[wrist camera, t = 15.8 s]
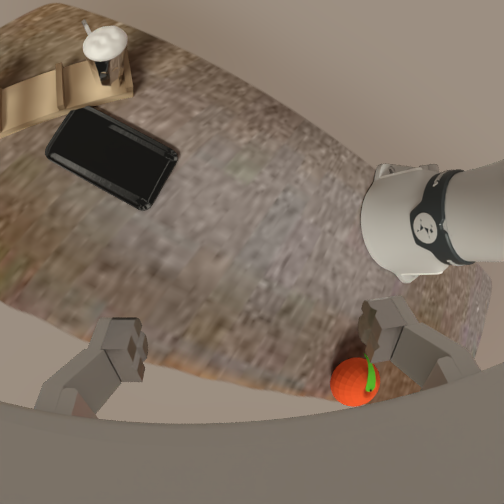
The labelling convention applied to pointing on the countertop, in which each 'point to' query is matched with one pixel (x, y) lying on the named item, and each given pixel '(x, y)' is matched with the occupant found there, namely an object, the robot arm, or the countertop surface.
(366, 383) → the clementine
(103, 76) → the milkshake
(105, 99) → the organizer
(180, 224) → the countertop surface
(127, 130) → the phone
